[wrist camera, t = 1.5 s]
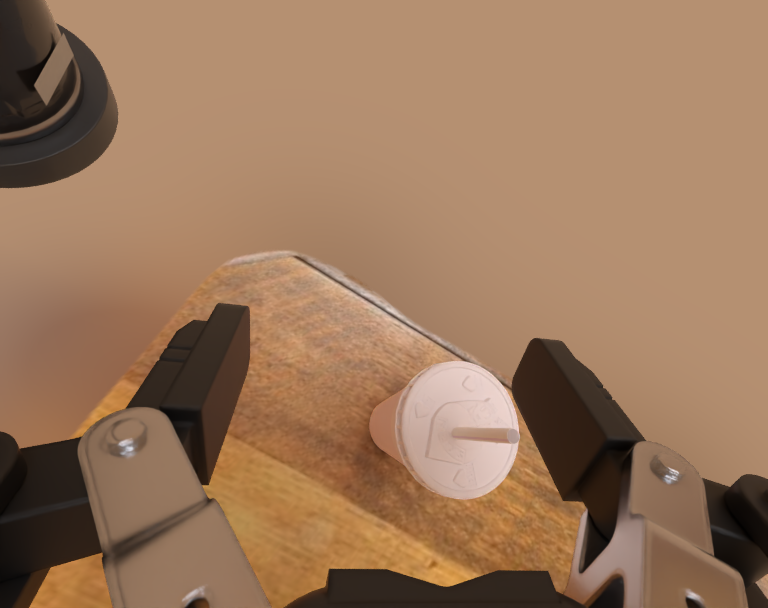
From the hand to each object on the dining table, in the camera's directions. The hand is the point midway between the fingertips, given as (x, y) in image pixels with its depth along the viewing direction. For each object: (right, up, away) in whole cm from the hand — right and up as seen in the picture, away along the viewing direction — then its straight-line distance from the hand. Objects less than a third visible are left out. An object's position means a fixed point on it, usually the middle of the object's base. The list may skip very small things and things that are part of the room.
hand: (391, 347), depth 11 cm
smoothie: (0, -7, +16) cm, 18 cm away
